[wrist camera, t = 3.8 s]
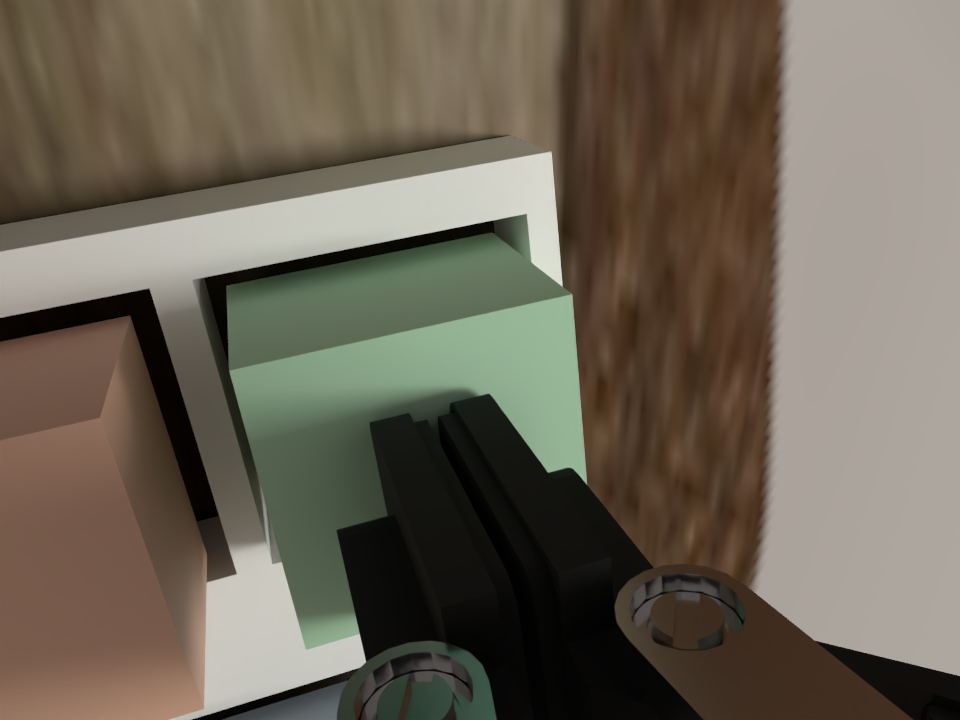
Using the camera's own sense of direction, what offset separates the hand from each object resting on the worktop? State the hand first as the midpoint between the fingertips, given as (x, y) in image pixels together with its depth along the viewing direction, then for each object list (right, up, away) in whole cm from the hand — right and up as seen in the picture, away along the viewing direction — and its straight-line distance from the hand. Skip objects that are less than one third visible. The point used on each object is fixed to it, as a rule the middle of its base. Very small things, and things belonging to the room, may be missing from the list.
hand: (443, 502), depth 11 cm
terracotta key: (-6, 0, +1) cm, 7 cm away
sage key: (-1, +2, +3) cm, 4 cm away
